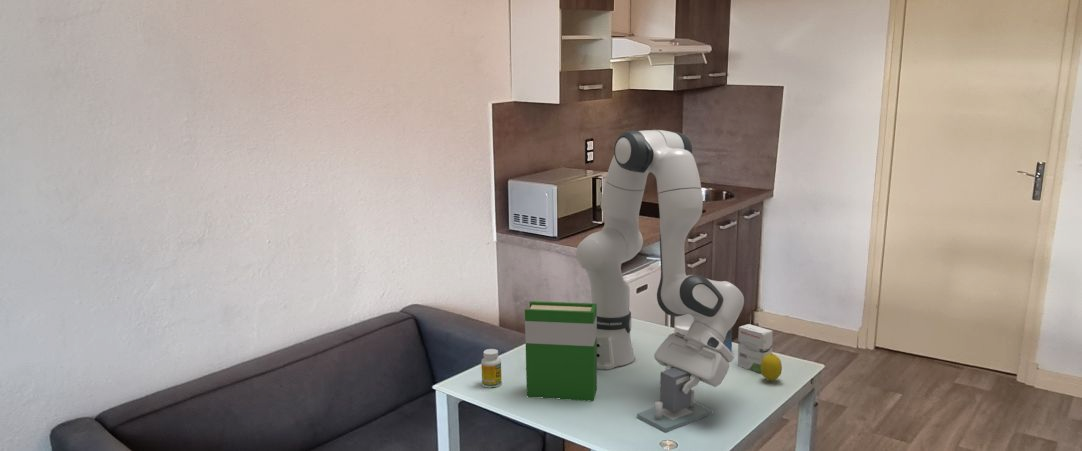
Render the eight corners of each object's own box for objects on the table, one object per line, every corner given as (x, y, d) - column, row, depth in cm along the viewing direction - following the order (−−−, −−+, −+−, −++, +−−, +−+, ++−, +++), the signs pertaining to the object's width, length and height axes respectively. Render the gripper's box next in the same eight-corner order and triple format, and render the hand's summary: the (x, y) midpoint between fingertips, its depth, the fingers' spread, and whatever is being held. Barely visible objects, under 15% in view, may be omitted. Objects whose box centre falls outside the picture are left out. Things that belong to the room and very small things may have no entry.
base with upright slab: (671, 347, 243) (672, 309, 240) (677, 337, 251) (677, 300, 248) (701, 350, 240) (702, 312, 237) (705, 340, 248) (706, 303, 245)
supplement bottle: (485, 379, 221) (484, 347, 219) (504, 381, 220) (503, 348, 218) (479, 387, 216) (478, 354, 214) (498, 389, 214) (497, 355, 212)
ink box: (772, 369, 224) (774, 330, 222) (761, 374, 221) (763, 334, 218) (747, 361, 231) (748, 322, 228) (736, 365, 227) (737, 326, 225)
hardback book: (526, 397, 209) (524, 309, 204) (532, 385, 216) (530, 301, 211) (593, 401, 206) (593, 312, 201) (596, 389, 213) (596, 303, 208)
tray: (665, 432, 188) (666, 412, 187) (636, 417, 196) (637, 398, 195) (712, 413, 198) (712, 395, 196) (682, 400, 205) (683, 382, 204)
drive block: (673, 412, 193) (673, 377, 191) (660, 406, 196) (660, 372, 195) (690, 406, 196) (691, 371, 194) (677, 399, 200) (677, 366, 198)
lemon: (777, 387, 213) (779, 358, 211) (757, 382, 215) (758, 354, 214) (783, 379, 217) (785, 352, 215) (763, 375, 220) (764, 348, 218)
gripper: (666, 324, 205) (638, 369, 201) (727, 346, 189) (698, 395, 185) (678, 336, 208) (650, 381, 205) (739, 359, 192) (711, 408, 189)
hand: (673, 388), depth 195 cm, fingers closed on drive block, 4 cm apart
